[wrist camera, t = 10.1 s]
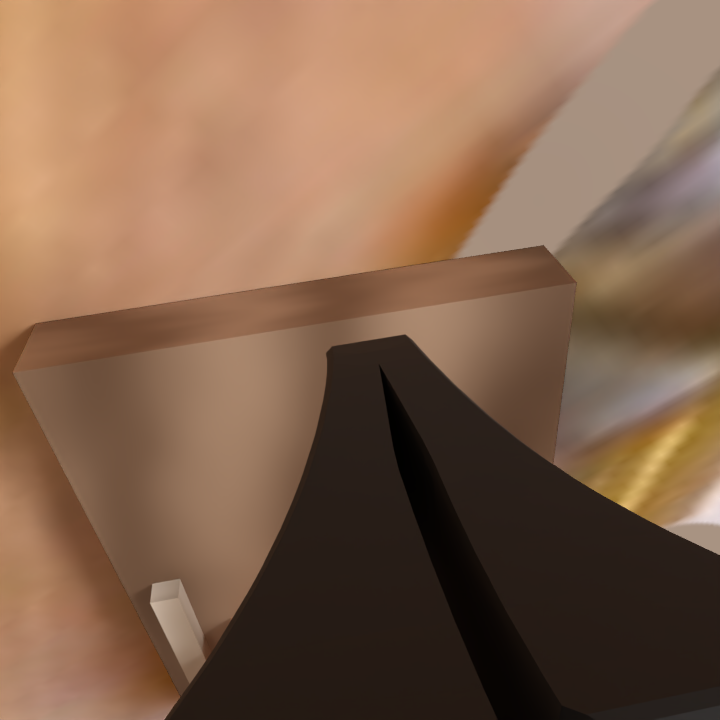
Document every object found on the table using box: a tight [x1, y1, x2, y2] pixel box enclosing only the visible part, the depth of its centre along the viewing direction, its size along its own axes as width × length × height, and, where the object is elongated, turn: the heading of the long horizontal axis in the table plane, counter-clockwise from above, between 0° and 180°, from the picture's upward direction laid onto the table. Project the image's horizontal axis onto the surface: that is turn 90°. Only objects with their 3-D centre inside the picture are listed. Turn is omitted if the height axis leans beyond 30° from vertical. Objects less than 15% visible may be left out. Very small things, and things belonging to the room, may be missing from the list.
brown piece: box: [13, 245, 577, 696], centre depth 25 cm, size 16×22×3 cm
